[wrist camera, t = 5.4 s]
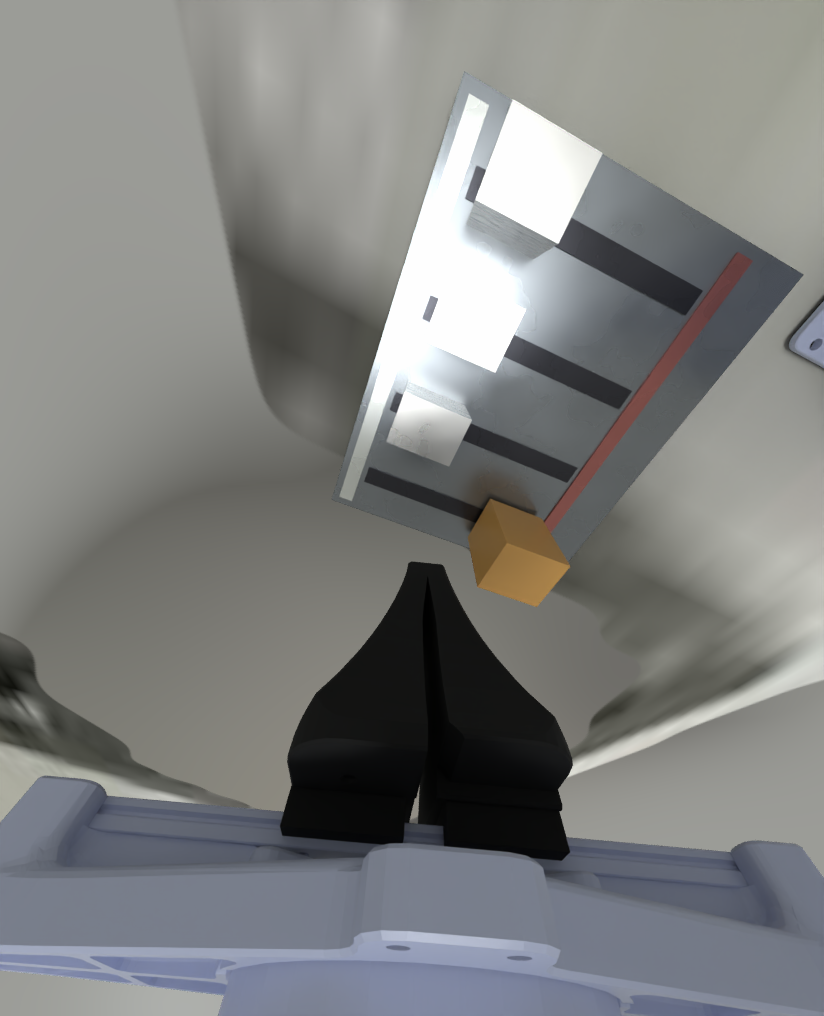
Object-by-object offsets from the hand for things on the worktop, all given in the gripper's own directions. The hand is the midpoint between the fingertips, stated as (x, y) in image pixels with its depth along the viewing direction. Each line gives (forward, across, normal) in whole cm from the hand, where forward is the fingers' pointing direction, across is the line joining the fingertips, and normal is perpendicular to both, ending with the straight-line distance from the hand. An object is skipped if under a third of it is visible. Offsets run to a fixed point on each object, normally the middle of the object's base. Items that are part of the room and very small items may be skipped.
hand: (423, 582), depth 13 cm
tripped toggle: (+7, -5, +2) cm, 9 cm away
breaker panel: (+9, -5, -6) cm, 12 cm away
